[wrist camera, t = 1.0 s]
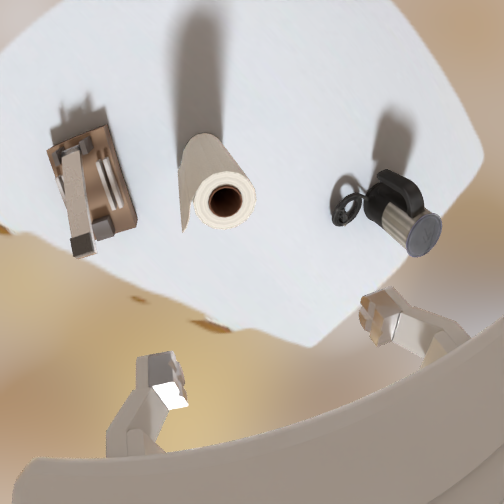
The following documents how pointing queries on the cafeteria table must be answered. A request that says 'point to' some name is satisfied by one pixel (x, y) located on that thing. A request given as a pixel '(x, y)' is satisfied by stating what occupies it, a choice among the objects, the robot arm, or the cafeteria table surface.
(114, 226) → the wooden base lever press
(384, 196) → the milk frother
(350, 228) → the cafeteria table surface
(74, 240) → the beige-grey bar
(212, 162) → the paper towel roll
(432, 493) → the robot arm
